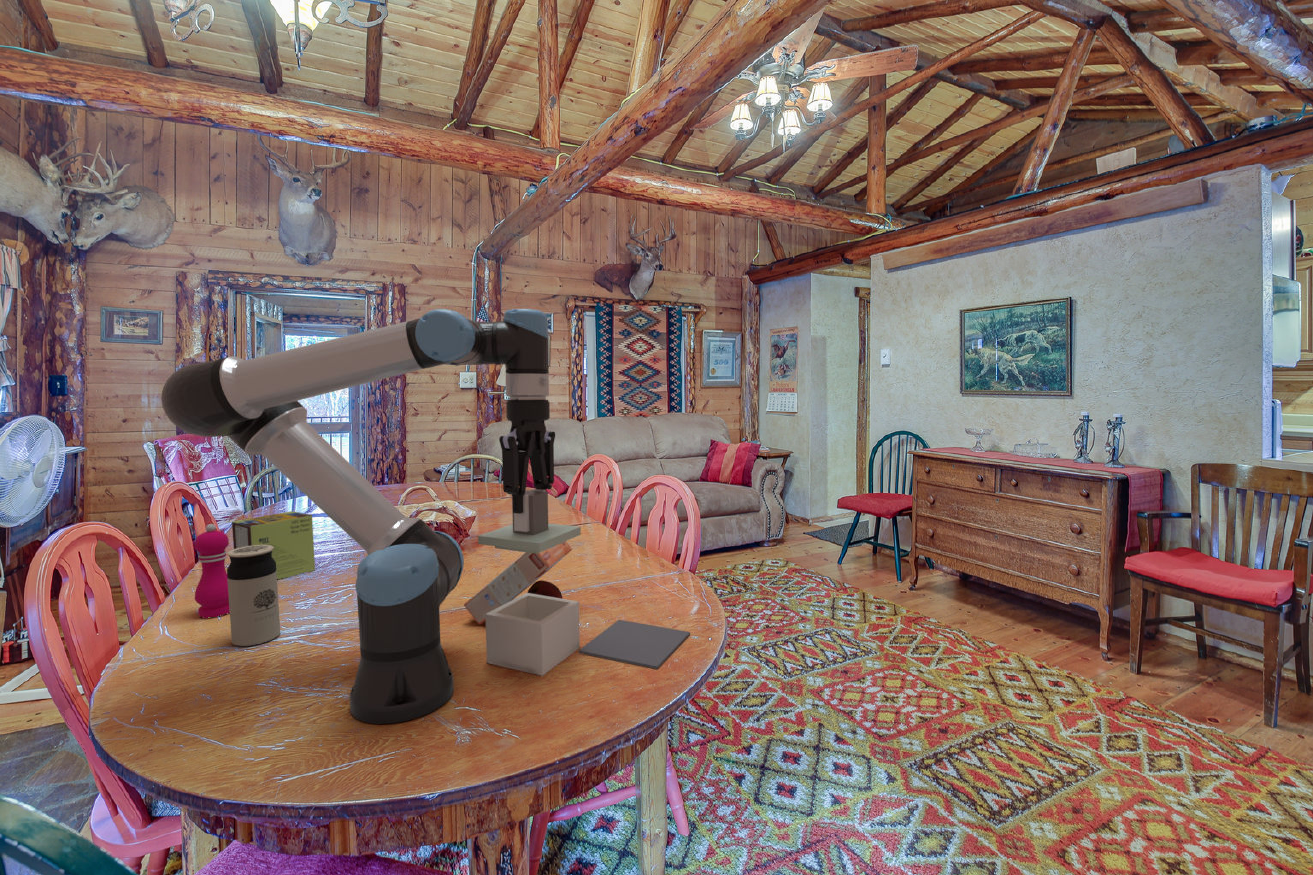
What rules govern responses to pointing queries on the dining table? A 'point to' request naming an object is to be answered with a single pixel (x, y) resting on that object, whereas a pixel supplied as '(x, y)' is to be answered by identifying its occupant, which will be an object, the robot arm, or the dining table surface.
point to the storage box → (532, 633)
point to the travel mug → (253, 595)
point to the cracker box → (514, 580)
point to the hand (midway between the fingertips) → (530, 527)
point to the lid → (531, 530)
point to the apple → (545, 589)
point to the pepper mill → (212, 573)
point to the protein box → (280, 540)
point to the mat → (636, 643)
